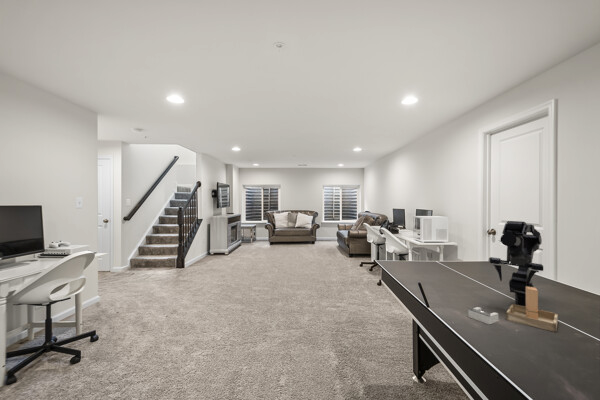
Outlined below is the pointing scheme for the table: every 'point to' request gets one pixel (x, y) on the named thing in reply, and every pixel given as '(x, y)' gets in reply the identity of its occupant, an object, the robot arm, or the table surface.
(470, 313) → the white piece
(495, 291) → the table surface
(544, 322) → the tray
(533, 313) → the orange post
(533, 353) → the table surface
